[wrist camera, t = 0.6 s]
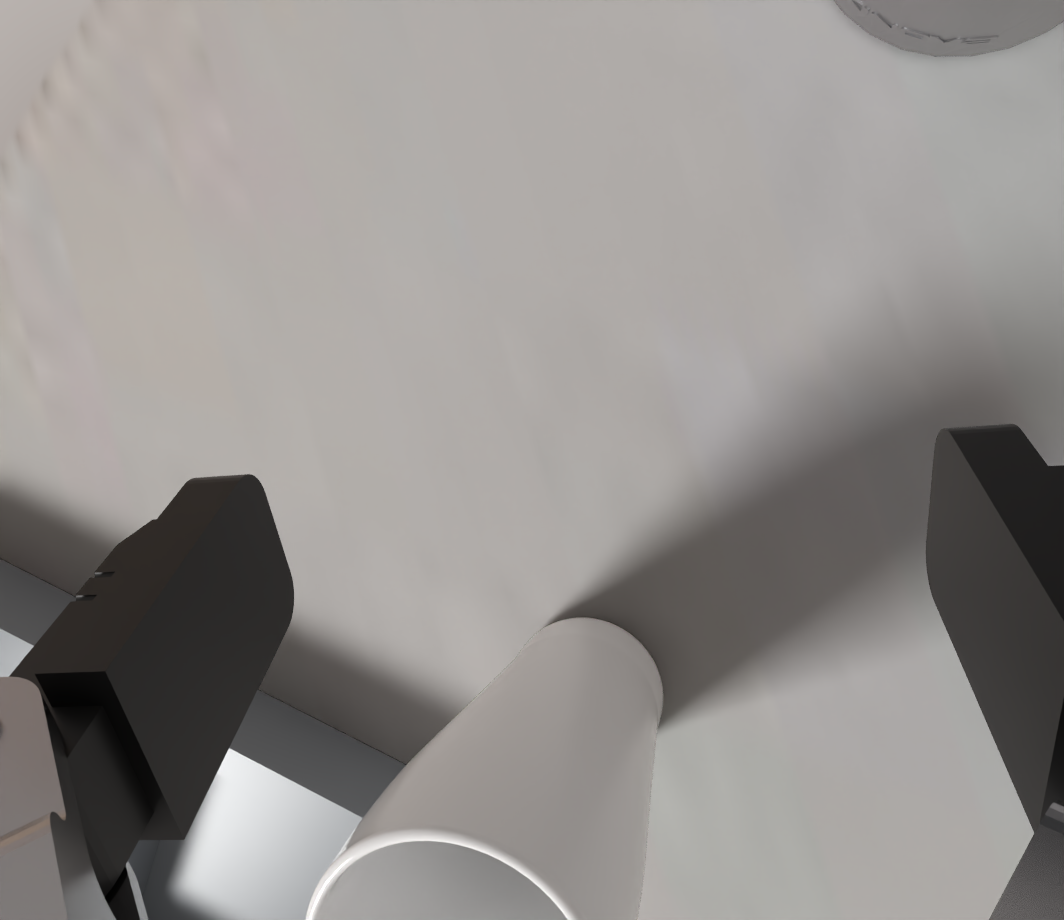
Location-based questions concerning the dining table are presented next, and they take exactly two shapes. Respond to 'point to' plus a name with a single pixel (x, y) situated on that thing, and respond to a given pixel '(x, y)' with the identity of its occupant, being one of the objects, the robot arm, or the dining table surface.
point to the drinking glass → (518, 796)
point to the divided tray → (236, 796)
